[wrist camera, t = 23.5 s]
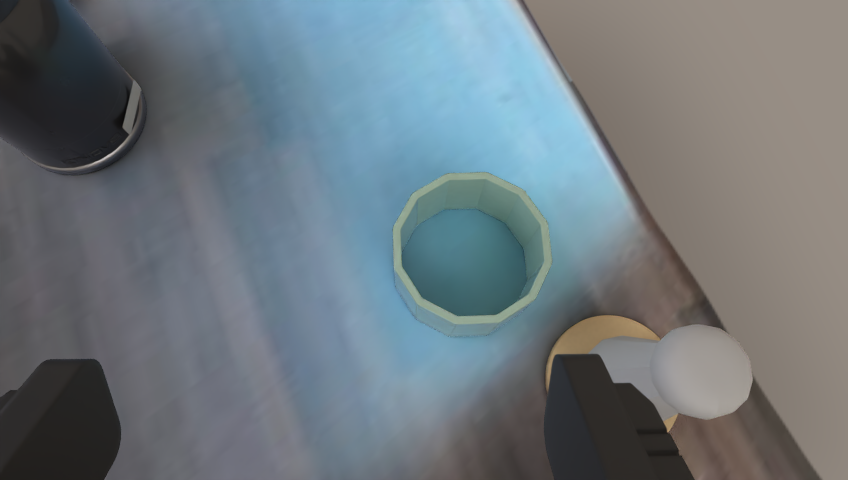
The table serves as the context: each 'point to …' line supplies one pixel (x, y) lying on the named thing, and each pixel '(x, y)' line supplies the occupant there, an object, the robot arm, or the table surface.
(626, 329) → the coaster
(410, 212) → the cup
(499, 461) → the table surface
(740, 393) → the salt shaker
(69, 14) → the robot arm
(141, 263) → the table surface
